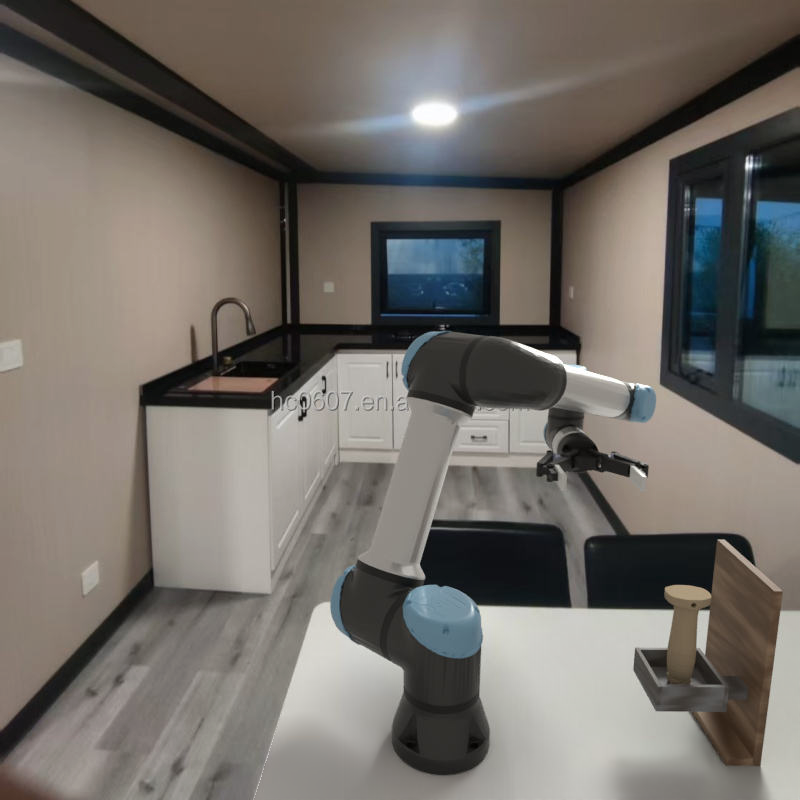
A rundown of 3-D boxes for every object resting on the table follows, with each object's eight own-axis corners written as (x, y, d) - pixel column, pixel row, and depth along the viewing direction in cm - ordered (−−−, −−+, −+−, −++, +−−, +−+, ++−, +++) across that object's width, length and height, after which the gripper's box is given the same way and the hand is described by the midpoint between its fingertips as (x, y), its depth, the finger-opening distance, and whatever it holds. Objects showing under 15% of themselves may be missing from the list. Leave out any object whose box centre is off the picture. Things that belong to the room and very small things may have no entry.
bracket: (651, 765, 102) (666, 590, 96) (614, 690, 120) (626, 538, 114) (760, 766, 102) (783, 591, 96) (708, 690, 120) (724, 539, 114)
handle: (705, 694, 103) (716, 600, 100) (662, 692, 103) (672, 599, 100) (693, 675, 107) (703, 585, 104) (651, 673, 108) (660, 584, 105)
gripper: (635, 468, 139) (675, 505, 118) (512, 467, 140) (529, 503, 119) (638, 432, 138) (679, 463, 117) (513, 431, 138) (531, 461, 117)
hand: (604, 484), depth 118 cm, fingers open, 13 cm apart
